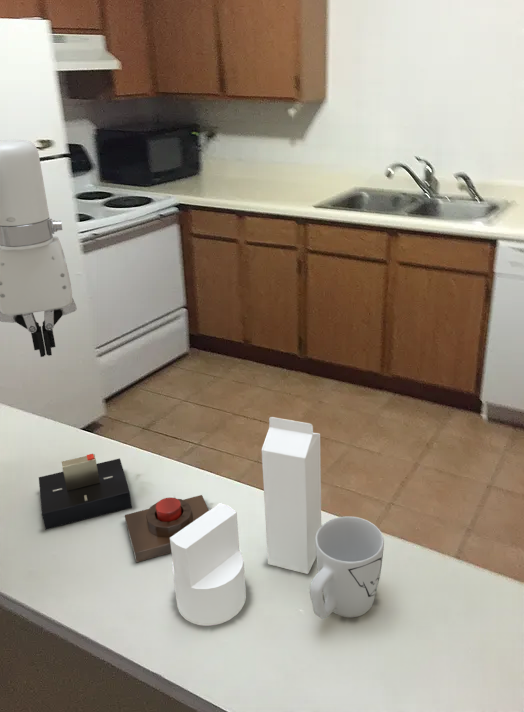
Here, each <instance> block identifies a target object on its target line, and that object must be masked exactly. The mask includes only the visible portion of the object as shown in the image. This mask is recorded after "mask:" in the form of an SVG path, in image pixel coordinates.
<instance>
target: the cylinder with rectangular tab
mask: <svg viewBox="0 0 524 712" xmlns="http://www.w3.org/2000/svg"><path fill="white" fill-rule="evenodd" d="M238 525H239V524H238V512H237V511H236V510H235V509H234V508H233V507H231V506H230V505H228V504H226V503H222V502H219V503H217V504H216V505H215V506H213V507H212V508H210V509H209V511H208V512H206V513H205V514H203V515H202V516H200V517H199V518H198V519H196V520H195V521H193V522H192V523H190V524H189V525H187V526H186V527H185V528H183V529H182V530H180V531H179V532H177V533H176V534H174V535H173V536H172V537H170V544H171V558H172V564H171V566H172V577H173V584H174V592H175V593H174V594H175V600H176V608H177V611H178V612H179V614H180V615H181V617H183V618H184V619H185V620H186V621H188V622H189V623H191V624H192V625H193V624H194V625H198V626H206V627H207V626H209V627H210V626H216V625H217V626H218V625H221V624H223V623H226V622H228V621H230V620H231V619H233V618H234V617H236V616H237V615H238V614H239V613H240V612H241V610H242V609H243V607H244V605H245V603H246V599H247V589H246V576H245V575H246V574H245V564H244V563H245V562H244V556H243V553H242V551H241V549H240V539H239V538H240V537H239V526H238Z"/></svg>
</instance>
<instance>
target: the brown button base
mask: <svg viewBox="0 0 524 712" xmlns="http://www.w3.org/2000/svg"><path fill="white" fill-rule="evenodd" d="M177 499H178V500H179V501H180V503H181V511H182V514H181V516H180V518H178V519H177V520H174V521H171V522H161V521H160V520H158V518H157V513H156V504H157V503H158V502H159V501H157V502H156V503H154V504H153V505H151V506H150V507H149V508H147V509H142V510H138V511H135V512H131V513H128V514H124V520H125V525H126V528H127V533H128V536H129V540H130V544H131V548H132V552H133V555H134V556H133V557H134V559H135V562H136V563H140V562H143V561H147V560H150V559H154V558H158V557H161V556H164V555H168V554H172V552H171V544H170V537H172V536H173V535H174V534H176V533H177V532H179V531H180V530H182V529H183V528H185V527H186V526H187V525H189V524H190V523H192V522H193V521H195V520H196V519H198V518H199V517H200V516H202V515H203V514H205V513H206V512H208V511H209V510H210V509H209V507H208V505H207V503H206V501H205V498H204V496H203V494H200V495H196V496H191V497H188V498H184V499H182V498H177Z"/></svg>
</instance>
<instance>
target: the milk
mask: <svg viewBox="0 0 524 712" xmlns="http://www.w3.org/2000/svg"><path fill="white" fill-rule="evenodd" d="M268 425H269V426H268V430H267V433H266V436H265V438H264V442H263V444H262V446H261V465H262V482H263V500H264V521H265V534H266V535H265V537H266V552H267V553H266V554H267V564H268V565H269V566H274V567H278V568H282V569H286V570H289V571H294V572H298V573H302V574H305V575H309V573H310V571H311V569H312V567H313V565H314V563H315V560H317V557H316V547H315V538H316V534H317V531H318V530H319V528H320V527H321V526H322V480H321V479H322V470H321V469H322V468H321V465H322V464H321V463H322V462H321V461H322V460H321V433H319V432H314V426H313V424H312V423H310V422H305V421H298V420H292V419H286V418H281V417H275V416H270V417H269V419H268Z"/></svg>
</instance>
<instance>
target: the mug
mask: <svg viewBox="0 0 524 712" xmlns="http://www.w3.org/2000/svg"><path fill="white" fill-rule="evenodd" d="M315 547H316V564H317V573H316V574H315V575H314V576H313V578H312V580H311V582H310V584H309V597H310V601H311V604H312V609H313V612H314V614H315V616H317V617H318V618H319V619H322V620H323V619H326V618H328V617H329V616H330V615H331V614H333V613H334V614H335V615H337V616H340V617H342V618H343V617H344V618H357V617H361V616H363V615H364V614H366V613H368V611H370V610H371V608H372V606H373V604H374V601H375V598H376V594H377V590H378V586H379V583H380V579H381V575H382V574H381V573H382V566H383V559H384V550H385V540H384V536H383V533H382V531H381V530H380V528H378V526H377V525H376V524H374V523H373V522H371V521H369V520H367V519H365V518H362V517H358V516H351V515H350V516H337V517H335V518H332V519H329V520H327V521H325V522H323V524H321V527H320V528H319V530H318V531H317V534H316V538H315Z"/></svg>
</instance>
